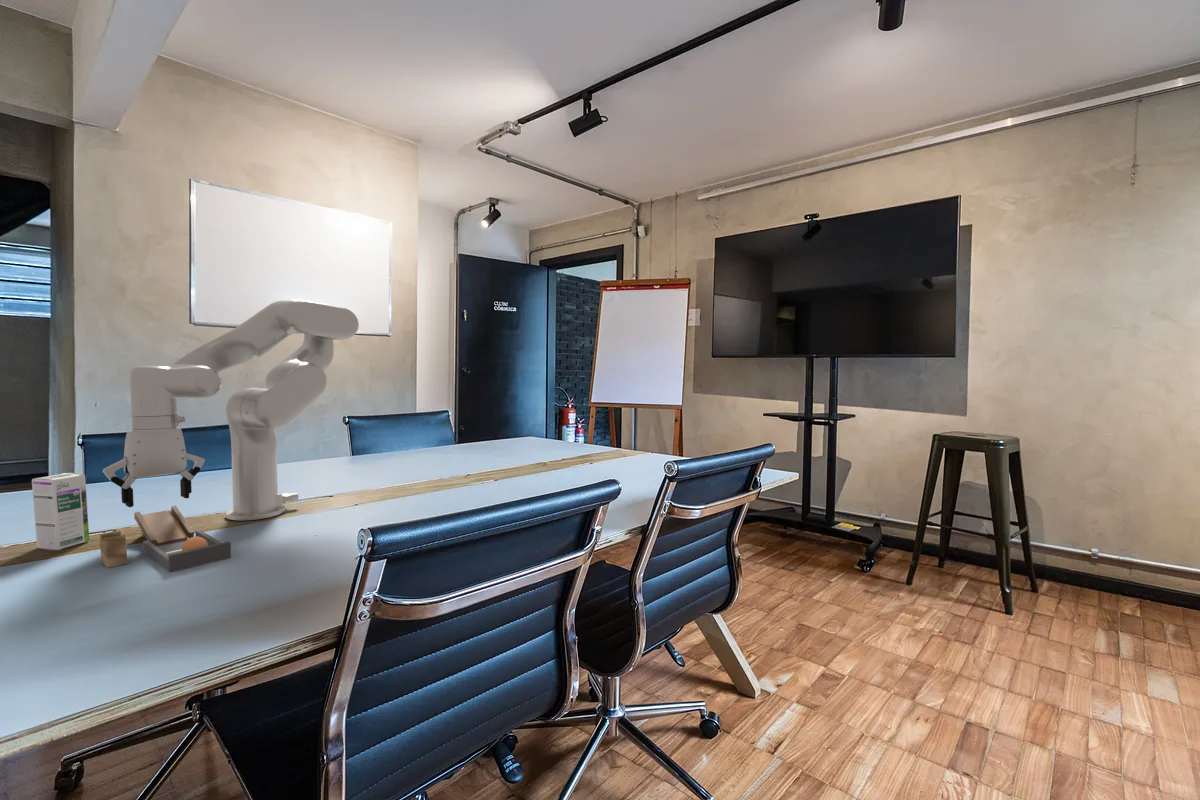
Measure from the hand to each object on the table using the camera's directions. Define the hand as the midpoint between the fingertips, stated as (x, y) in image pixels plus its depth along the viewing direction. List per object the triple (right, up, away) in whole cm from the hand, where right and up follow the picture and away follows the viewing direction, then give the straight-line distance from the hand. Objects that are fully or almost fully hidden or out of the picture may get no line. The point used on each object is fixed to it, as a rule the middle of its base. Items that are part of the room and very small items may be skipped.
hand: (158, 501), depth 117 cm
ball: (+18, -6, -13) cm, 23 cm away
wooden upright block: (+4, -9, -15) cm, 18 cm away
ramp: (+3, -8, -2) cm, 8 cm away
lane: (+13, -9, -10) cm, 19 cm away
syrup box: (-15, -8, -6) cm, 18 cm away
